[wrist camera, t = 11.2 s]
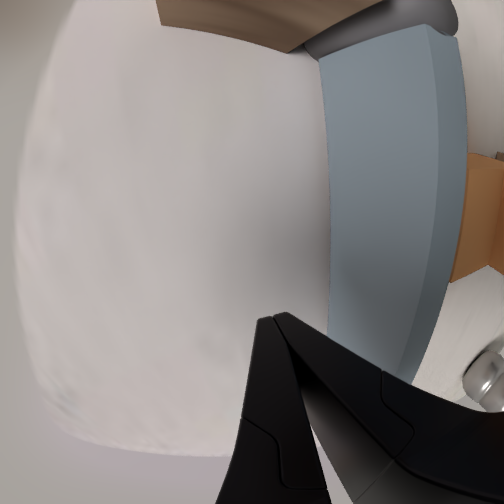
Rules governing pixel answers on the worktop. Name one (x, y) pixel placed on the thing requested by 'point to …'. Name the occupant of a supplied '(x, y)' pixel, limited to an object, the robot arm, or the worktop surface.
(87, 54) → the worktop surface
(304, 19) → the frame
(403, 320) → the grey piece
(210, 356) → the worktop surface
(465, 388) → the silver bottle
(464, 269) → the orange stepped block
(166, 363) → the worktop surface
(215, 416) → the worktop surface
